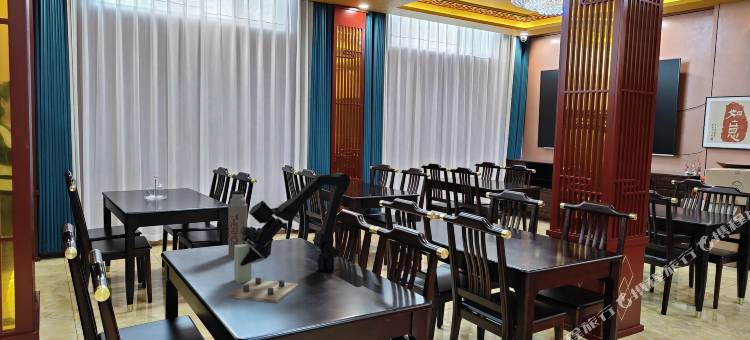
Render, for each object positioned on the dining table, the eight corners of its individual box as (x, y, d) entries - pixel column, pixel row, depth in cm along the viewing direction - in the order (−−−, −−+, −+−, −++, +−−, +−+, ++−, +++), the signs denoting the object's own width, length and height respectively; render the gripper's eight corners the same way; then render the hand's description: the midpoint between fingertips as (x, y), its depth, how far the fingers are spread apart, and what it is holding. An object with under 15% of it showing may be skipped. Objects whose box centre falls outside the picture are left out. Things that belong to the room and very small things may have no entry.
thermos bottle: (238, 257, 226) (238, 193, 224) (224, 255, 230) (224, 191, 228) (251, 253, 234) (251, 191, 231) (237, 251, 237) (237, 189, 235)
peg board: (298, 286, 190) (298, 278, 190) (277, 303, 172) (277, 294, 172) (252, 281, 194) (252, 273, 194) (227, 297, 177) (227, 288, 176)
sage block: (247, 277, 199) (247, 243, 197) (251, 281, 194) (251, 247, 193) (234, 279, 196) (234, 245, 195) (237, 283, 192) (237, 248, 190)
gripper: (246, 213, 203) (217, 244, 199) (260, 222, 187) (229, 255, 182) (266, 231, 208) (238, 262, 203) (282, 242, 191) (251, 275, 187)
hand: (238, 263), depth 194 cm, fingers closed on sage block, 5 cm apart
